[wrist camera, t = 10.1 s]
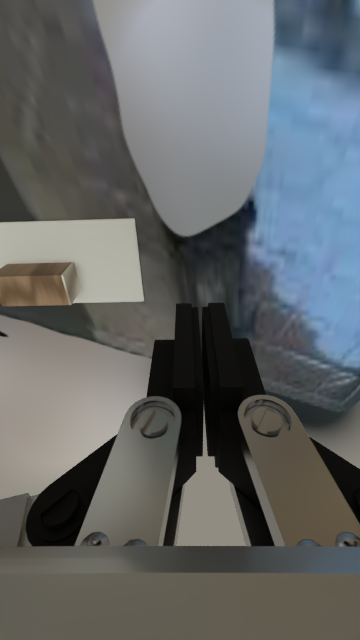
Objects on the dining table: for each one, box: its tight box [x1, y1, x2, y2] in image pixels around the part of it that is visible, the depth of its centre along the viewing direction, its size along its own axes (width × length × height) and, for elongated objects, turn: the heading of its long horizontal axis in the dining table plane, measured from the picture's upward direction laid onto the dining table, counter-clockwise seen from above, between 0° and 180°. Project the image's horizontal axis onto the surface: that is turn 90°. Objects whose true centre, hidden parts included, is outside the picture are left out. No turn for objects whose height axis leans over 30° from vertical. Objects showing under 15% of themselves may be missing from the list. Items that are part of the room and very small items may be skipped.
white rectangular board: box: [0, 218, 144, 303], centre depth 46 cm, size 14×24×1 cm, turn 92°
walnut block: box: [0, 262, 81, 306], centre depth 45 cm, size 5×5×11 cm
